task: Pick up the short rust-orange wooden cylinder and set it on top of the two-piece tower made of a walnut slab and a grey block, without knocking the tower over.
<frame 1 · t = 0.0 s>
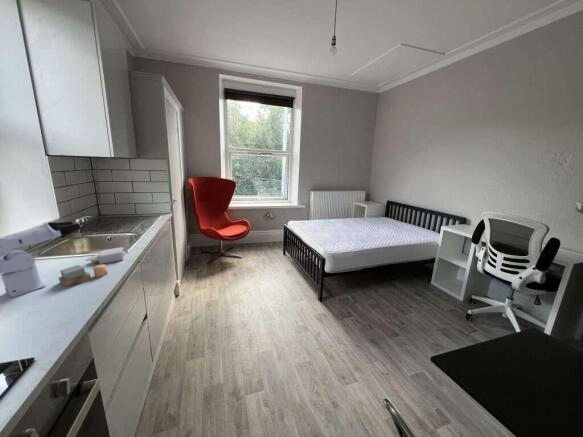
hand: (75, 224, 107), 22 cm above the counter, tool horizontal, fingers open, 7 cm apart
upper block: (74, 275, 101), point 3 cm above the counter, touching base slab
cylinder: (101, 275, 107), on the counter
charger: (106, 261, 122), on the counter
base slab: (76, 282, 102), on the counter, touching upper block
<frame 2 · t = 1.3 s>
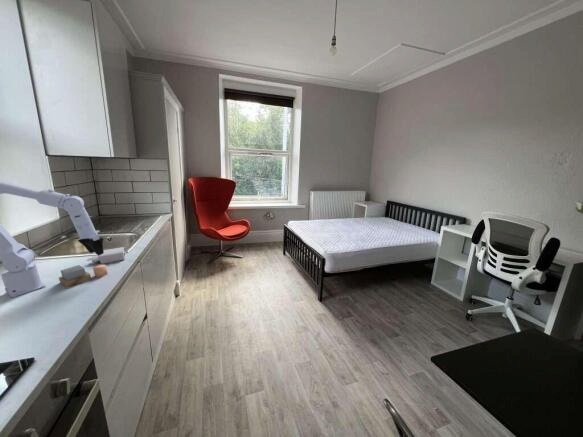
hand: (96, 253, 105), 10 cm above the counter, tool pointing down, fingers open, 7 cm apart
upper block: (74, 275, 101), point 2 cm above the counter
base slab: (76, 282, 102), on the counter
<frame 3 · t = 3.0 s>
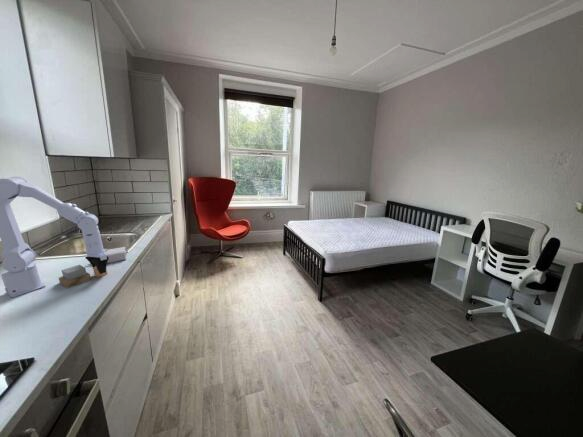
hand: (100, 271, 107), 2 cm above the counter, tool pointing down, fingers closed on cylinder, 4 cm apart
upper block: (75, 275, 102), point 2 cm above the counter, touching base slab
cylinder: (101, 274, 107), on the counter, touching gripper
base slab: (76, 282, 102), on the counter, touching upper block
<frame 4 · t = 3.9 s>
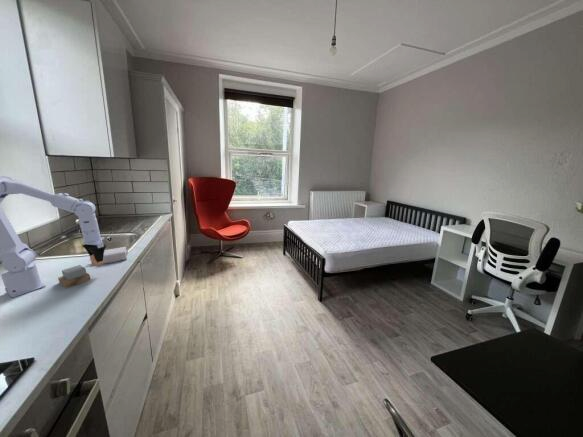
hand: (97, 260, 105), 7 cm above the counter, tool pointing down, fingers closed on cylinder, 4 cm apart
upper block: (75, 275, 101), point 2 cm above the counter
cylinder: (98, 263, 106), point 5 cm above the counter, touching gripper
base slab: (75, 282, 102), on the counter
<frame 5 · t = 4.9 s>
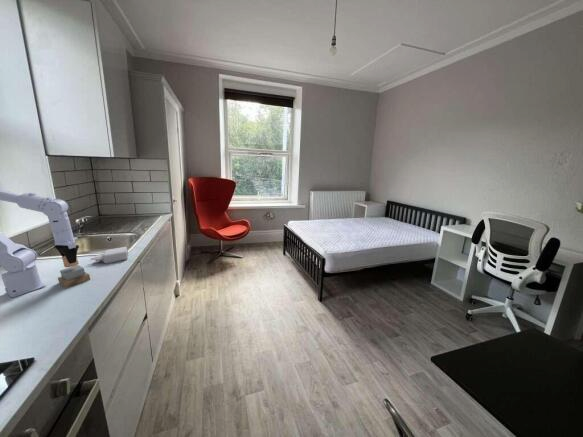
hand: (70, 261, 100), 9 cm above the counter, tool pointing down, fingers closed on cylinder, 4 cm apart
cylinder: (71, 264, 100), point 7 cm above the counter, touching gripper
when the fingers open (9 cm above the counter, at t = 5.5 s): cylinder drops 2 cm, resting on upper block.
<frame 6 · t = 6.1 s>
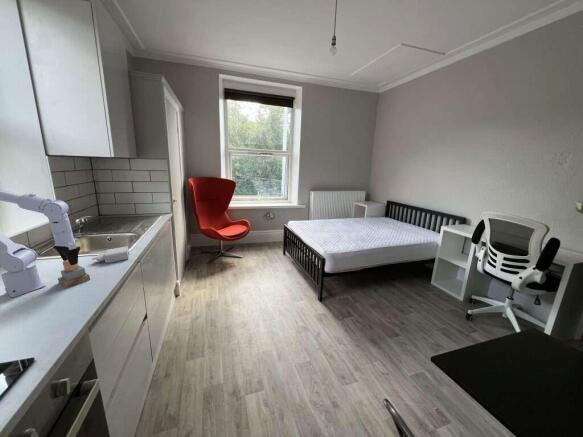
hand: (70, 262, 100), 9 cm above the counter, tool pointing down, fingers open, 7 cm apart
upper block: (74, 276, 102), point 2 cm above the counter, touching base slab, cylinder
cylinder: (72, 269, 100), point 5 cm above the counter, touching upper block
base slab: (75, 282, 102), on the counter, touching upper block
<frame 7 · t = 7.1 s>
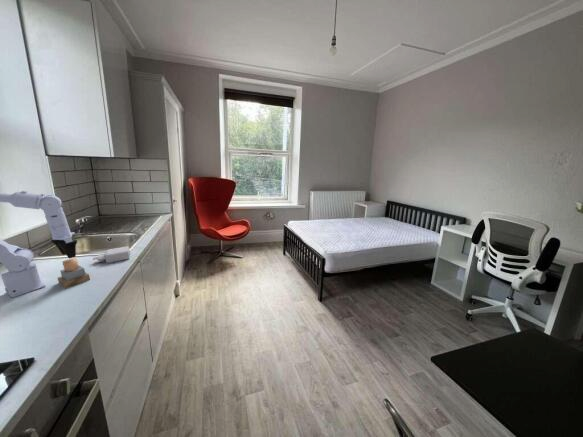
hand: (69, 255, 102), 10 cm above the counter, tool pointing down, fingers open, 7 cm apart
upper block: (73, 275, 101), point 2 cm above the counter, touching cylinder
base slab: (75, 282, 102), on the counter
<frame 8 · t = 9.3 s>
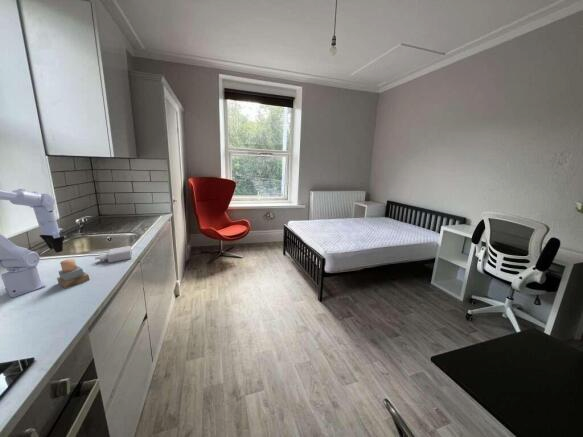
hand: (56, 250, 108), 10 cm above the counter, tool pointing down, fingers open, 7 cm apart
upper block: (72, 276, 101), point 2 cm above the counter, touching base slab, cylinder
base slab: (74, 282, 102), on the counter, touching upper block
at the end: cylinder 0.1 cm off-centre on the upper block, point 3.0 cm above the upper block's base; upper block moved 0.9 cm from its start; base slab moved 0.8 cm from its start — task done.
